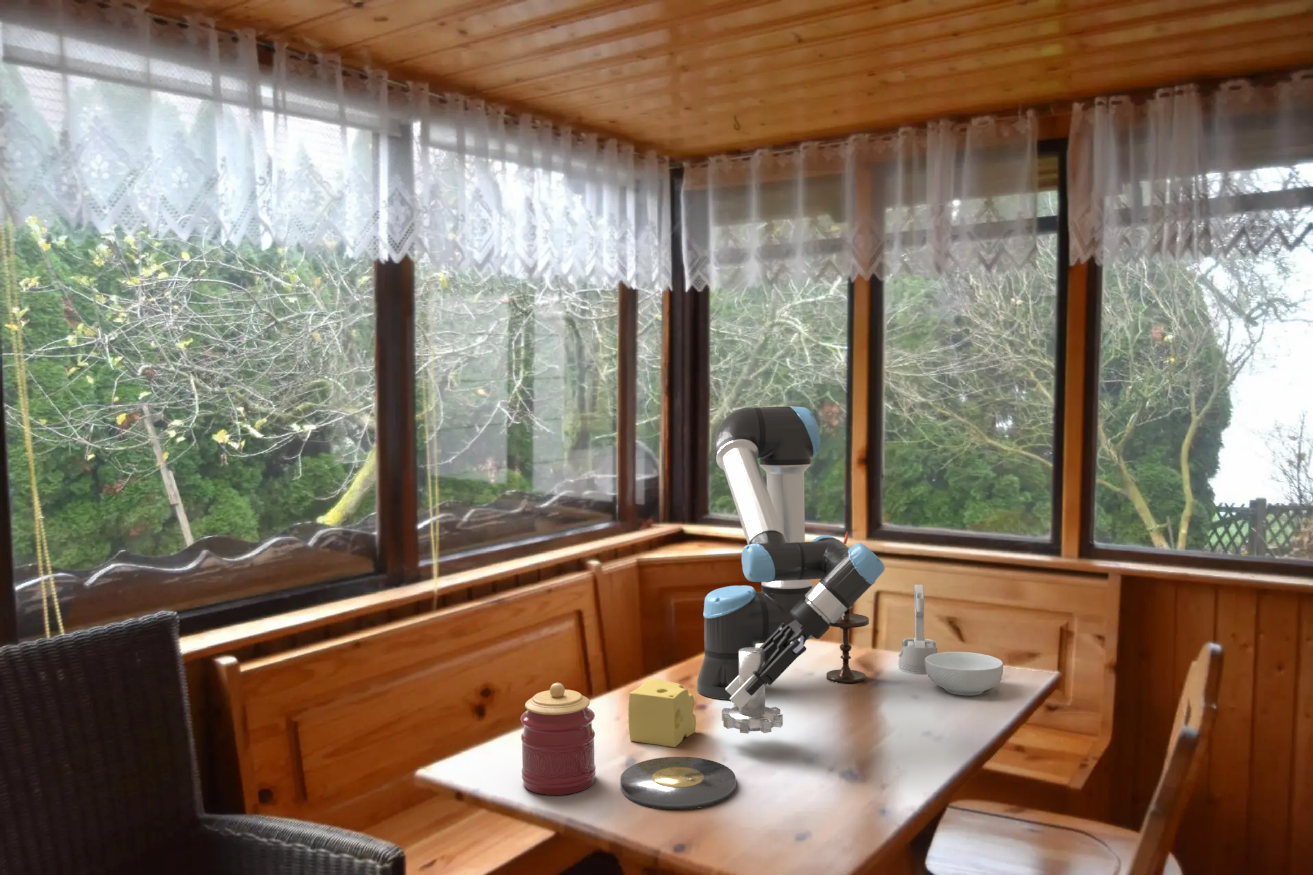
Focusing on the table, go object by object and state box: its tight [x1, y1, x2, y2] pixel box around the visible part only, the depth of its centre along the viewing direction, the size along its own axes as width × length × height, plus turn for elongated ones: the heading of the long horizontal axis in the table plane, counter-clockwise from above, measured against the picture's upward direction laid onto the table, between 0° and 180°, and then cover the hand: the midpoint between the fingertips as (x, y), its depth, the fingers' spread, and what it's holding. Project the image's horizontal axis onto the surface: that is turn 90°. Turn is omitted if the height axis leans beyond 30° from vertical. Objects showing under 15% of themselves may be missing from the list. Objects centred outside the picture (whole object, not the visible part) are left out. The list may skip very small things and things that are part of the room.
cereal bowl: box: [925, 651, 1004, 697], centre depth 227 cm, size 17×17×7 cm
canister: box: [520, 682, 597, 796], centre depth 176 cm, size 13×13×18 cm
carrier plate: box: [619, 756, 737, 811], centre depth 174 cm, size 20×20×2 cm
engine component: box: [898, 584, 939, 675], centre depth 245 cm, size 11×20×10 cm
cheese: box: [628, 678, 697, 748], centre depth 199 cm, size 10×11×10 cm
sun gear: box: [721, 646, 784, 734], centre depth 192 cm, size 12×12×14 cm
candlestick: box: [826, 531, 870, 685], centre depth 237 cm, size 11×11×35 cm
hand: (732, 698), depth 192 cm, fingers closed on sun gear, 5 cm apart
